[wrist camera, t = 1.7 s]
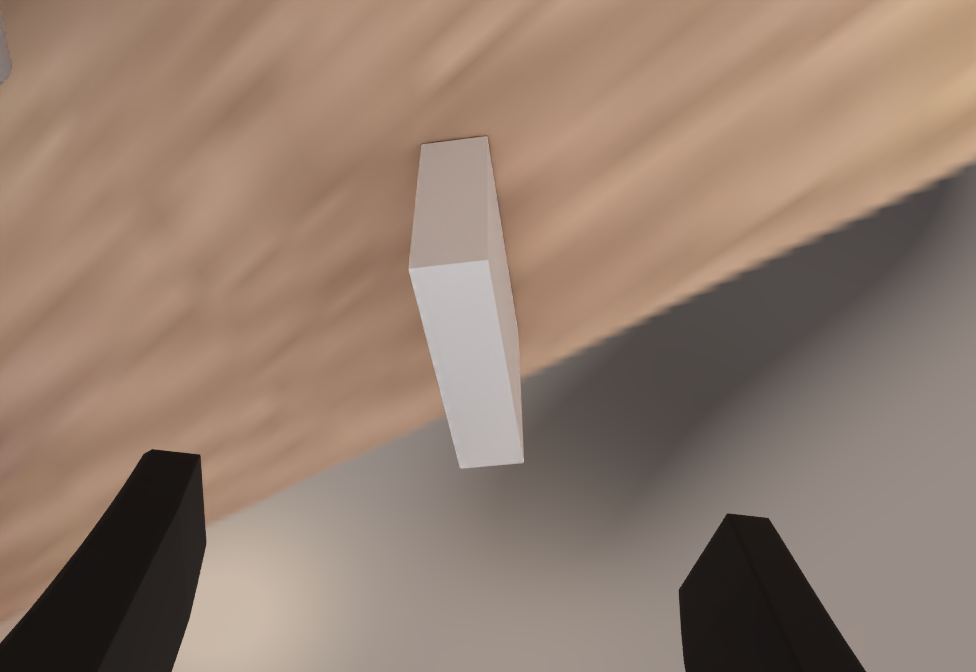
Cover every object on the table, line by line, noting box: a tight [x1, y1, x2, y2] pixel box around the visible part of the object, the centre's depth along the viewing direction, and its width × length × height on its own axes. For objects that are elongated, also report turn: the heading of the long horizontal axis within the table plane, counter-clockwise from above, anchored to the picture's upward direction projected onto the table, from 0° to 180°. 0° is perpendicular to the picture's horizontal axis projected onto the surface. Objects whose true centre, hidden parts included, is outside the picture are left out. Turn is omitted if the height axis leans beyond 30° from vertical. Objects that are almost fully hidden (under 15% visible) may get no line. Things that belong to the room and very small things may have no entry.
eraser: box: [408, 136, 524, 468], centre depth 16 cm, size 1×5×4 cm, turn 8°
